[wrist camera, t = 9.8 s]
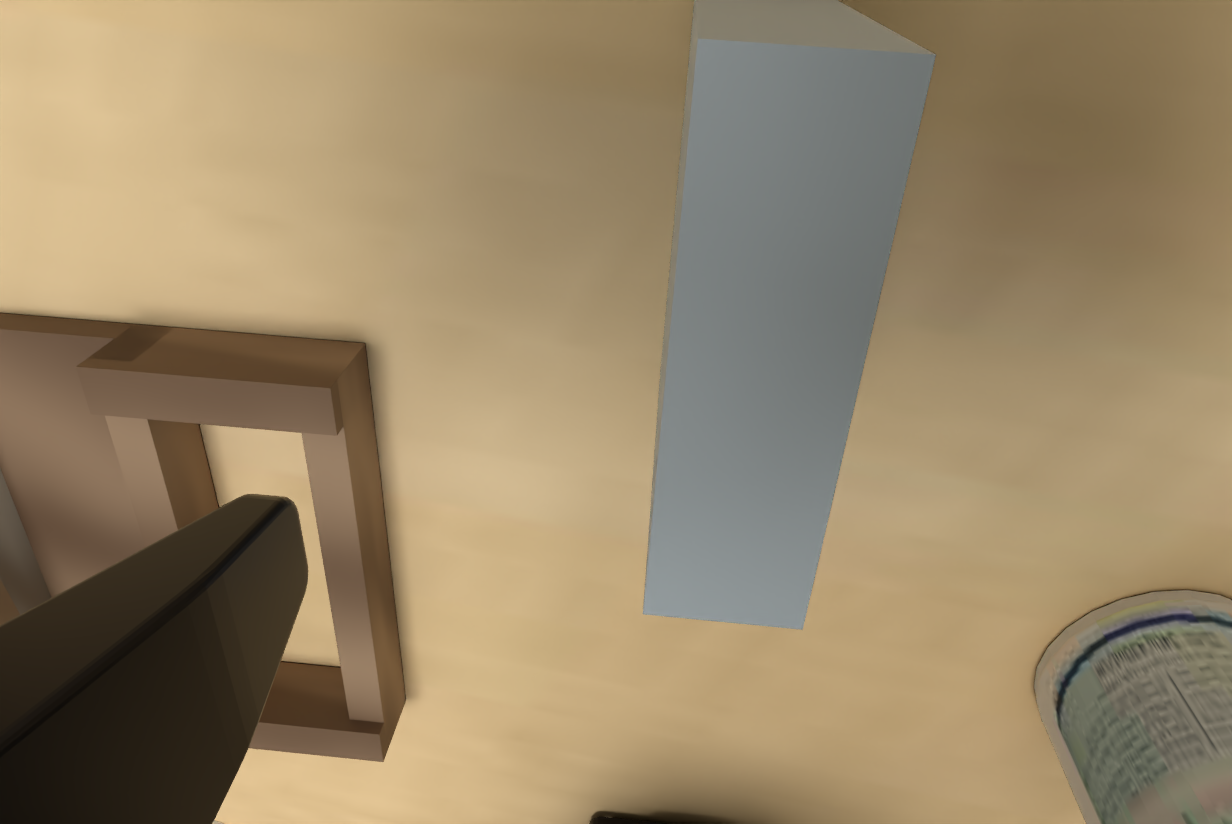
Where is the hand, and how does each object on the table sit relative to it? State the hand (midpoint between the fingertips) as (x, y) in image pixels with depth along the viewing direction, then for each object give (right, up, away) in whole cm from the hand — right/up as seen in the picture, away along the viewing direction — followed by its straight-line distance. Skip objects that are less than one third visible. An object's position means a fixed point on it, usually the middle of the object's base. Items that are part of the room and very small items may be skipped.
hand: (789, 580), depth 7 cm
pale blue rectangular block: (+1, +6, +10) cm, 12 cm away
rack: (-15, -2, +16) cm, 22 cm away
